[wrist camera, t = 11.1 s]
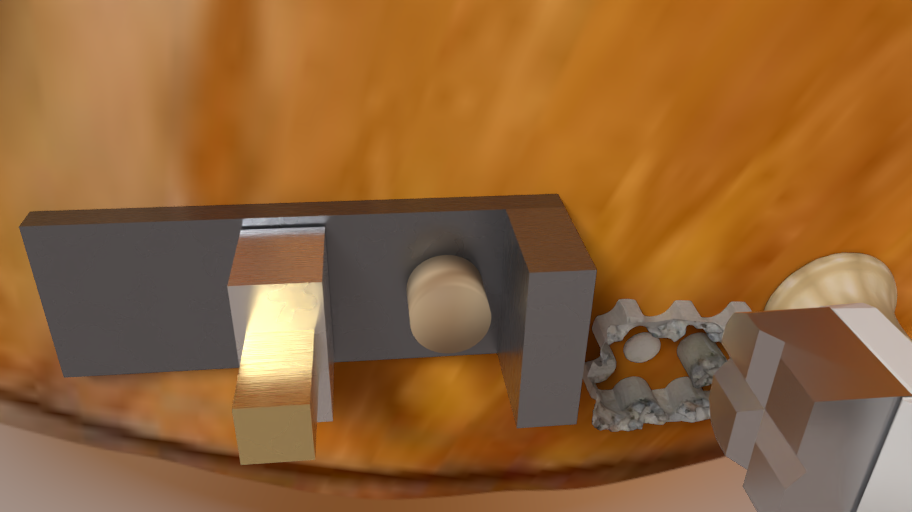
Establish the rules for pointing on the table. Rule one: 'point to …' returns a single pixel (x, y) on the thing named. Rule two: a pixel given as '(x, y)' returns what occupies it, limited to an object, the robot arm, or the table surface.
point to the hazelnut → (447, 304)
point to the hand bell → (839, 285)
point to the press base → (350, 284)
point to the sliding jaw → (281, 343)
